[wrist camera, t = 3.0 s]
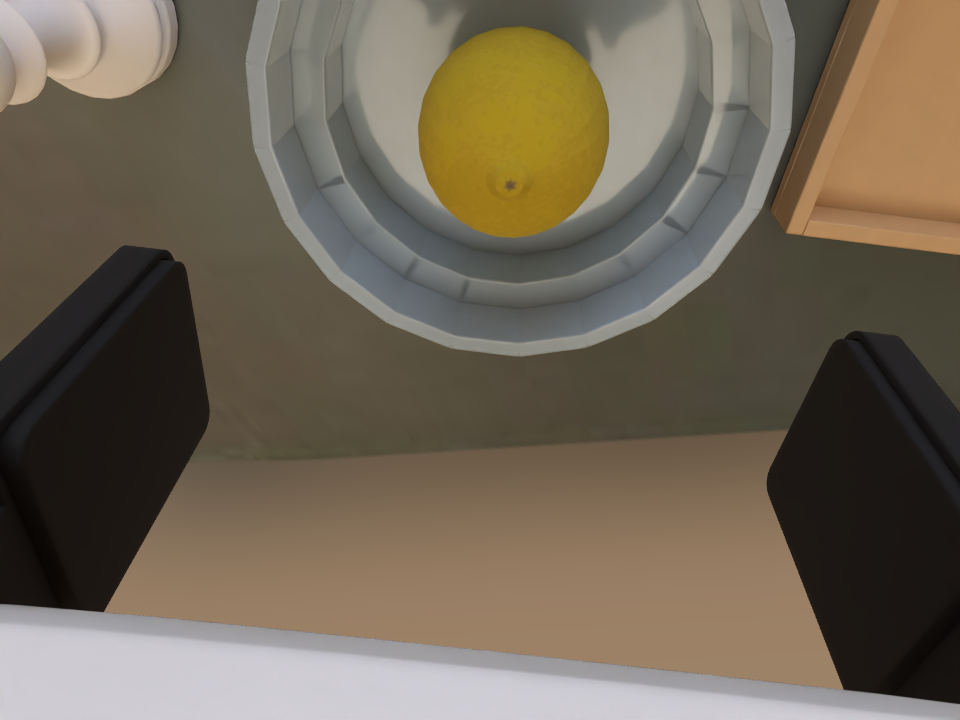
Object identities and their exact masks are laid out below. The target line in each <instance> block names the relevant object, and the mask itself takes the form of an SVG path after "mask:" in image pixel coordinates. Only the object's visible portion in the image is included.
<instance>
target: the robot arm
mask: <svg viewBox="0 0 960 720" xmlns="http://www.w3.org/2000/svg"><path fill="white" fill-rule="evenodd" d="M209 413H210V409H209V401H208V395H207V389H206V383H205V377H204V372H203V366H202V360H201V354H200V348H199V342H198V336H197V330H196V324H195V318H194V313H193V307H192V301H191V295H190V289H189V283H188V277H187V272H186V268H185V266H184V264H183V263H181V262H177V261H174V258H173V256H172V255H171V253H170V252H169V251H167V250H162V249H153V248H144V247H136V246H123V247H121V248H119V249H118V250H117V251H116V252H115V253H114V254H113V255H112V256H111V257H110V258H109V259H108V260H107V261H106V262H104V263H103V264H102V265H101V266H100V267H99V268H98V269H97V270H96V271H95V272H94V273H93V274H92V275H91V276H90V277H89V278H88V279H87V280H86V281H85V282H83V283H82V284H81V285H80V286H79V287H78V288H77V289H76V290H75V291H74V292H73V293H72V294H71V295H70V296H69V297H68V298H67V299H66V300H65V301H63V302H62V303H61V304H60V305H59V306H58V307H57V308H56V309H55V310H54V311H53V312H52V313H51V314H50V315H49V316H48V317H47V318H46V319H45V320H43V321H42V322H41V323H40V324H39V325H38V326H37V327H36V328H35V329H34V330H33V331H32V332H31V333H30V334H29V335H28V336H27V337H26V338H25V339H24V340H22V341H21V342H20V343H19V344H18V345H17V346H16V347H15V348H14V349H13V350H12V351H11V352H10V353H9V354H8V355H7V356H6V357H5V358H4V359H2V360H1V361H0V720H960V412H959V411H958V409H957V408H956V407H955V406H954V404H953V403H952V402H951V401H950V399H949V398H948V397H947V396H946V394H945V393H944V392H943V390H942V389H941V388H940V387H939V385H938V384H937V383H936V382H935V380H934V379H933V378H932V377H931V375H930V374H929V373H928V372H927V370H926V369H925V368H924V367H923V365H922V364H921V363H920V362H919V360H918V359H917V358H916V357H915V355H914V354H913V353H912V351H911V350H910V349H909V348H908V346H907V345H906V344H905V343H904V341H903V340H902V339H901V338H899V337H898V336H894V335H888V334H879V333H871V332H862V331H854V332H851V333H849V334H848V335H847V336H846V337H845V338H844V339H839V340H836V341H835V342H834V343H833V344H832V346H831V347H830V349H829V351H828V353H827V355H826V357H825V359H824V361H823V363H822V365H821V367H820V369H819V371H818V373H817V375H816V377H815V379H814V381H813V383H812V385H811V387H810V389H809V391H808V393H807V395H806V397H805V399H804V401H803V403H802V405H801V407H800V409H799V411H798V413H797V415H796V417H795V419H794V421H793V423H792V425H791V427H790V429H789V431H788V433H787V435H786V437H785V439H784V441H783V443H782V445H781V447H780V449H779V451H778V453H777V455H776V457H775V459H774V461H773V463H772V465H771V467H770V470H769V473H768V476H767V491H768V495H769V497H770V500H771V503H772V505H773V508H774V511H775V513H776V516H777V518H778V521H779V523H780V526H781V528H782V531H783V534H784V536H785V539H786V541H787V544H788V547H789V549H790V552H791V554H792V557H793V559H794V562H795V565H796V567H797V570H798V573H799V575H800V578H801V580H802V583H803V585H804V588H805V591H806V593H807V596H808V598H809V601H810V603H811V606H812V609H813V611H814V614H815V616H816V619H817V622H818V624H819V626H820V629H821V632H822V634H823V637H824V640H825V642H826V645H827V647H828V650H829V652H830V655H831V658H832V660H833V663H834V665H835V668H836V671H837V673H838V676H839V678H840V681H841V683H842V686H843V689H844V690H840V689H831V688H822V687H814V686H805V685H796V684H786V683H778V682H769V681H759V680H751V679H742V678H732V677H724V676H715V675H707V674H698V673H688V672H679V671H671V670H662V669H653V668H643V667H634V666H625V665H616V664H606V663H597V662H587V661H578V660H569V659H559V658H551V657H550V658H549V657H541V656H531V655H522V654H513V653H504V652H493V651H484V650H475V649H466V648H456V647H447V646H438V645H428V644H418V643H409V642H400V641H390V640H380V639H370V638H361V637H351V636H341V635H331V634H322V633H312V632H302V631H291V630H281V629H272V628H262V627H253V626H252V627H251V626H242V625H233V624H223V623H212V622H203V621H193V620H184V619H173V618H163V617H152V616H141V615H129V614H117V613H105V612H104V611H105V609H106V607H107V605H108V603H109V602H110V600H111V598H112V596H113V594H114V593H115V591H116V589H117V587H118V586H119V584H120V582H121V580H122V578H123V577H124V575H125V573H126V571H127V569H128V568H129V566H130V564H131V562H132V560H133V559H134V557H135V555H136V554H137V552H138V550H139V548H140V546H141V545H142V543H143V541H144V539H145V538H146V536H147V534H148V532H149V530H150V528H151V527H152V525H153V523H154V521H155V520H156V518H157V516H158V514H159V513H160V511H161V509H162V507H163V505H164V503H165V502H166V500H167V498H168V496H169V495H170V493H171V491H172V489H173V487H174V486H175V484H176V482H177V480H178V479H179V477H180V475H181V473H182V471H183V470H184V468H185V466H186V464H187V463H188V461H189V459H190V457H191V456H192V454H193V452H194V450H195V448H196V447H197V445H198V443H199V441H200V440H201V438H202V436H203V434H204V432H205V430H206V428H207V425H208V421H209Z"/></svg>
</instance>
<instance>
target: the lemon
mask: <svg viewBox="0 0 960 720" xmlns="http://www.w3.org/2000/svg"><path fill="white" fill-rule="evenodd" d="M418 138H419V153H420V158H421V161H422V164H423V167H424V171H425V174H426V177H427V180H428V183H429V184H430V186H431V188H432V189H433V191H434V193H435V194H436V196H437V197H438V199H439V201H440V202H441V204H442V205H443V206H444V207H445V208H446V209H447V210H448V211H449V212H450V213H451V214H452V215H454V216H455V217H456V218H457V219H458V220H460V221H461V222H463V223H464V224H466V225H468V226H469V227H471V228H473V229H474V230H476V231H480V232H483V233H486V234H489V235H492V236H497V237H510V238H517V237H524V236H531V235H536V234H538V233H541V232H543V231H546V230H548V229H551V228H553V227H555V226H557V225H558V224H560V223H561V222H562V221H564V220H565V219H567V218H568V217H569V216H571V215H572V214H573V213H574V212H575V211H576V210H577V209H578V208H579V207H580V205H581V204H582V203H583V202H584V201H585V200H586V199H587V197H588V196H589V195H590V193H591V191H592V189H593V188H594V186H595V184H596V182H597V180H598V178H599V176H600V174H601V172H602V170H603V167H604V162H605V158H606V154H607V149H608V145H609V111H608V107H607V103H606V100H605V96H604V93H603V89H602V86H601V83H600V81H599V80H598V78H597V77H596V75H595V73H594V72H593V70H592V68H591V67H590V65H589V63H588V62H587V61H586V59H585V58H583V57H582V56H581V55H580V54H579V53H578V52H577V51H576V50H575V49H574V48H573V47H572V46H571V45H570V44H569V43H567V42H566V41H564V40H562V39H560V38H558V37H556V36H554V35H552V34H551V33H549V32H547V31H543V30H538V29H533V28H529V27H524V26H517V27H502V28H496V29H493V30H490V31H487V32H484V33H481V34H478V35H475V36H474V37H472V38H471V39H469V40H468V41H466V42H465V43H463V44H462V45H461V46H459V47H458V48H456V49H455V50H454V51H452V53H451V54H450V55H449V56H448V57H447V59H446V60H445V61H444V62H443V63H442V64H441V66H440V67H439V68H438V69H437V70H436V72H435V74H434V76H433V78H432V80H431V82H430V84H429V86H428V88H427V90H426V92H425V95H424V97H423V101H422V106H421V111H420V117H419V122H418Z"/></svg>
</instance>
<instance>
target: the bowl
mask: <svg viewBox="0 0 960 720" xmlns="http://www.w3.org/2000/svg"><path fill="white" fill-rule="evenodd" d="M517 26H524V27H529V28H533V29H538V30H543V31H547V32H549V33H551V34H552V35H554V36H556V37H558V38H560V39H562V40H564V41H566V42H567V43H569V44H570V45H571V46H572V47H573V48H574V49H575V50H576V51H577V52H578V53H579V54H580V55H581V56H582V57H583V58H585V59H586V61H587V62H588V63H589V65H590V67H591V68H592V70H593V72H594V73H595V75H596V77H597V78H598V80H599V81H600V83H601V86H602V89H603V93H604V96H605V100H606V103H607V107H608V111H609V145H608V149H607V154H606V158H605V162H604V167H603V170H602V172H601V174H600V176H599V178H598V180H597V182H596V184H595V186H594V188H593V189H592V191H591V193H590V195H589V196H588V197H587V199H586V200H585V201H584V202H583V203H582V204H581V205H580V207H579V208H578V209H577V210H576V211H575V212H574V213H573V214H572V215H571V216H569V217H568V218H567V219H565V220H564V221H562V222H561V223H560V224H558V225H557V226H555V227H553V228H551V229H548V230H546V231H543V232H541V233H538V234H536V235H531V236H524V237H517V238H510V237H497V236H492V235H489V234H486V233H483V232H480V231H476V230H474V229H473V228H471V227H469V226H468V225H466V224H464V223H463V222H461V221H460V220H458V219H457V218H456V217H455V216H454V215H452V214H451V213H450V212H449V211H448V210H447V209H446V208H445V207H444V206H443V205H442V204H441V202H440V201H439V199H438V197H437V196H436V194H435V193H434V191H433V189H432V188H431V186H430V184H429V183H428V180H427V177H426V174H425V171H424V167H423V164H422V161H421V158H420V153H419V138H418V122H419V117H420V111H421V106H422V101H423V97H424V95H425V92H426V90H427V88H428V86H429V84H430V82H431V80H432V78H433V76H434V74H435V72H436V70H437V69H438V68H439V67H440V66H441V64H442V63H443V62H444V61H445V60H446V59H447V57H448V56H449V55H450V54H451V53H452V51H454V50H455V49H456V48H458V47H459V46H461V45H462V44H463V43H465V42H466V41H468V40H469V39H471V38H472V37H474V36H475V35H478V34H481V33H484V32H487V31H490V30H493V29H496V28H502V27H517ZM794 37H795V32H794V29H793V26H792V22H791V19H790V15H789V12H788V9H787V5H786V2H785V0H258V3H257V7H256V12H255V17H254V21H253V26H252V30H251V35H250V40H249V44H248V49H247V53H246V58H245V61H246V63H245V67H246V77H247V87H248V98H249V108H250V119H251V129H252V139H253V146H254V151H255V153H256V155H257V158H258V160H259V163H260V165H261V168H262V170H263V173H264V175H265V177H266V180H267V182H268V185H269V187H270V190H271V192H272V195H273V197H274V199H275V202H276V204H277V207H278V209H279V212H280V214H281V217H282V219H283V221H284V223H285V225H286V226H287V227H288V228H289V230H290V231H291V232H292V234H293V235H294V236H295V237H296V239H297V240H298V241H299V242H300V244H301V245H302V246H303V248H304V249H305V250H306V251H307V253H308V254H309V255H310V256H311V258H312V259H313V260H314V262H315V263H316V264H317V265H318V267H319V268H320V269H321V270H322V272H323V273H324V274H325V276H326V277H327V278H328V279H329V280H330V281H331V282H332V283H333V284H335V285H336V286H337V287H339V288H340V289H341V290H343V291H344V292H345V293H347V294H348V295H349V296H351V297H352V298H353V299H355V300H356V301H357V302H359V303H360V304H362V305H363V306H364V307H366V308H367V309H368V310H370V311H371V312H372V313H374V314H375V315H376V316H378V317H379V318H380V319H382V320H383V321H384V322H386V323H387V322H388V324H390V325H393V326H395V327H398V328H400V329H403V330H405V331H408V332H410V333H413V334H415V335H418V336H421V337H423V338H426V339H428V340H431V341H433V342H436V343H438V344H441V345H443V346H446V347H448V348H451V347H452V348H453V349H459V350H467V351H476V352H484V353H492V354H500V355H508V356H528V355H536V354H543V353H551V352H558V351H566V350H573V349H580V348H586V347H587V346H588V347H590V346H592V345H595V344H597V343H600V342H602V341H604V340H607V339H609V338H612V337H614V336H617V335H619V334H621V333H624V332H626V331H629V330H631V329H634V328H636V327H638V326H641V325H643V324H646V323H648V322H651V321H652V320H655V319H656V318H657V317H659V316H660V315H661V314H663V313H664V312H665V311H666V310H668V309H669V308H670V307H672V306H673V305H674V304H676V303H677V302H678V301H680V300H681V299H682V298H683V297H685V296H686V295H687V294H689V293H690V292H691V291H693V290H694V289H695V288H696V287H698V286H699V285H700V284H702V283H703V282H704V281H706V280H707V279H708V278H710V277H711V276H712V274H713V273H715V271H716V270H717V269H718V267H719V266H720V265H721V263H722V262H723V261H724V259H725V258H726V257H727V255H728V254H729V253H730V251H731V250H732V249H733V247H734V246H735V245H736V243H737V242H738V241H739V239H740V238H741V237H742V235H743V234H744V233H745V231H746V230H747V229H748V227H749V226H750V225H751V223H752V222H753V221H754V219H755V218H756V217H757V215H758V214H759V213H760V210H761V209H762V207H763V204H764V202H765V199H766V196H767V194H768V191H769V188H770V186H771V183H772V180H773V177H774V175H775V172H776V169H777V167H778V164H779V161H780V159H781V156H782V153H783V151H784V148H785V145H786V142H787V140H788V137H789V134H790V132H791V131H790V129H791V124H792V103H793V82H794V62H795V41H796V40H795V38H794Z"/></svg>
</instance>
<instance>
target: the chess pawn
mask: <svg viewBox="0 0 960 720" xmlns="http://www.w3.org/2000/svg"><path fill="white" fill-rule="evenodd" d="M177 37H178V23H177V17H176V12H175V6H174V3H173V1H172V0H0V112H2V111H3V110H4V109H5V108H6V106H7V105H8V104H11V105H18V104H22V103H27V102H29V101H31V100H32V99H34V98H36V97H37V96H38V95H39V94H40V92H41V91H42V89H43V88H44V86H45V82H46V78H47V76H49V77H51V78H52V79H53V80H55V81H57V82H58V83H60V84H62V85H63V86H65V87H67V88H69V89H70V90H72V91H75V92H78V93H81V94H84V95H87V96H90V97H96V98H107V99H113V98H118V97H123V96H128V95H131V94H132V93H134V92H136V91H137V90H139V89H141V88H142V87H144V86H146V85H147V84H149V83H151V82H152V81H154V80H156V79H157V78H159V77H160V76H161V75H162V74H163V73H164V71H165V70H166V69H167V68H168V66H169V65H170V64H171V61H172V59H173V56H174V53H175V50H176V48H177Z"/></svg>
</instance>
